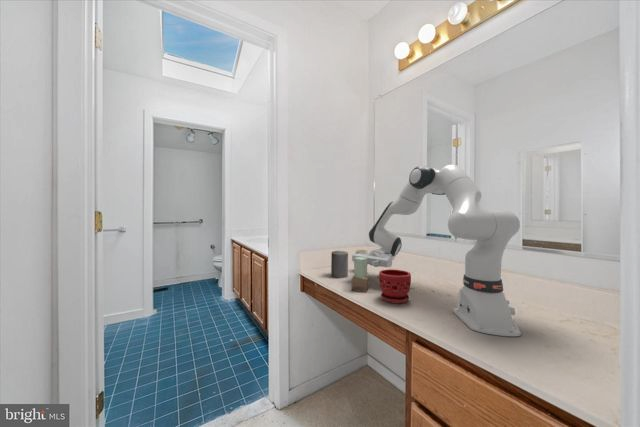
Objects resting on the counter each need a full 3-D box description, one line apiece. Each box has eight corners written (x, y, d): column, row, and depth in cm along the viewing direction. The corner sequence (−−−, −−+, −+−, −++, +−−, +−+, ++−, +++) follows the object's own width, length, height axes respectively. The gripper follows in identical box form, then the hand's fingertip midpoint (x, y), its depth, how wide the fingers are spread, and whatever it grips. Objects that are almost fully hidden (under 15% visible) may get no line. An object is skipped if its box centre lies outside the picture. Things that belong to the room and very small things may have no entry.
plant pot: (417, 301, 106) (417, 273, 106) (395, 308, 99) (396, 277, 99) (393, 292, 117) (393, 266, 117) (372, 297, 111) (372, 270, 110)
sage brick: (359, 275, 125) (359, 256, 125) (367, 276, 122) (367, 258, 122) (354, 276, 122) (354, 258, 122) (362, 278, 119) (362, 259, 119)
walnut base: (367, 292, 118) (367, 279, 118) (352, 290, 120) (352, 278, 120) (368, 287, 125) (368, 275, 124) (354, 286, 126) (354, 274, 126)
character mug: (351, 270, 157) (351, 249, 157) (359, 269, 161) (359, 248, 161) (363, 274, 148) (364, 252, 148) (372, 272, 152) (372, 251, 152)
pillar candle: (328, 274, 148) (328, 249, 147) (342, 272, 152) (342, 248, 151) (336, 279, 139) (336, 252, 138) (351, 277, 143) (351, 250, 143)
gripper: (360, 249, 141) (345, 253, 130) (394, 254, 127) (381, 258, 117) (360, 261, 141) (345, 265, 131) (394, 266, 127) (381, 272, 117)
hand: (363, 262), depth 124 cm, fingers open, 8 cm apart
